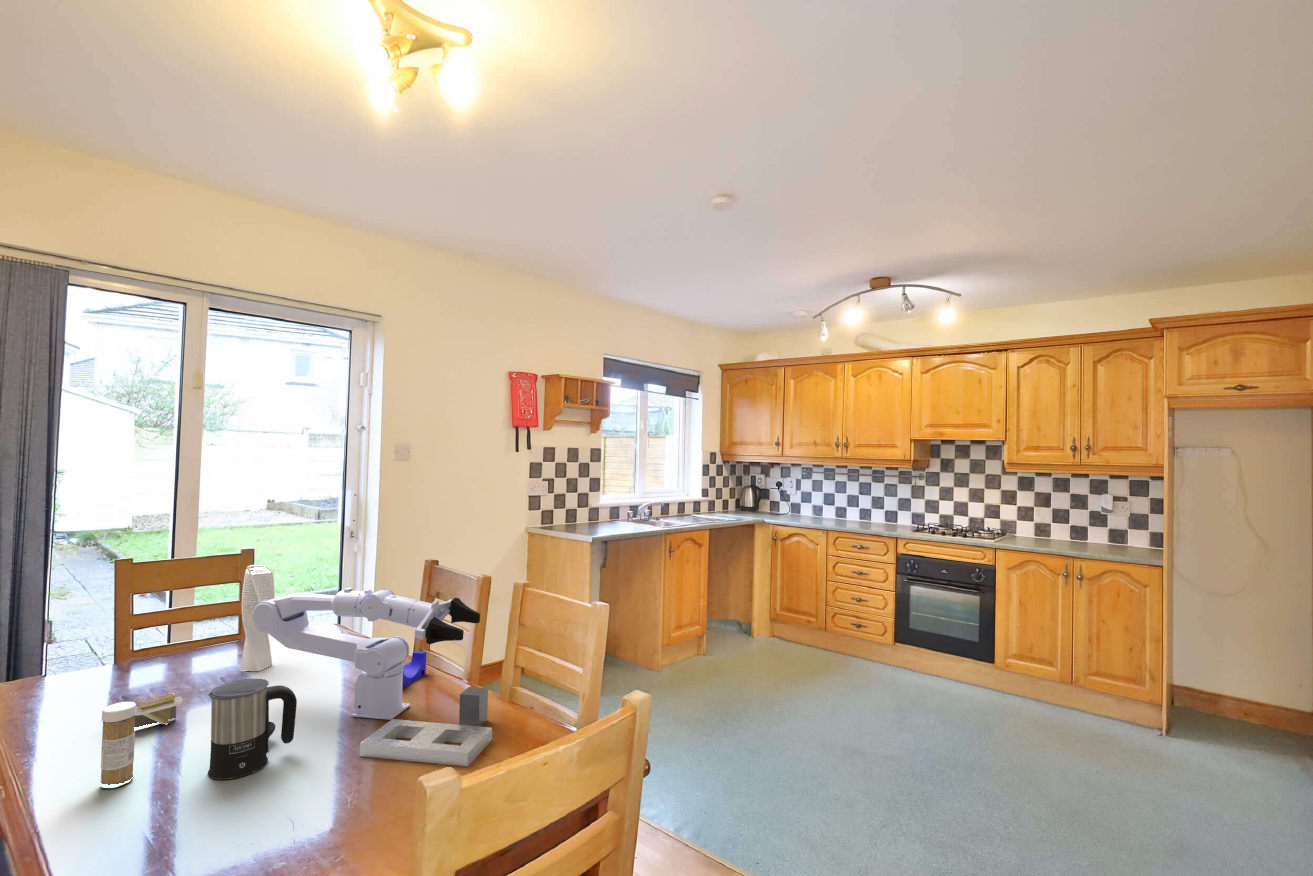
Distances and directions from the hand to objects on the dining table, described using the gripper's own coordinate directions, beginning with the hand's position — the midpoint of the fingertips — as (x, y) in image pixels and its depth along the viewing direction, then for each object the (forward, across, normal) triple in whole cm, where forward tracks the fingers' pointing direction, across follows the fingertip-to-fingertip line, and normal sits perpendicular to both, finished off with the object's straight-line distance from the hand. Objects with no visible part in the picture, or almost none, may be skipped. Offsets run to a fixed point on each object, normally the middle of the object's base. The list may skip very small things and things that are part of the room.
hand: (471, 626), depth 138 cm
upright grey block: (+5, -6, +19) cm, 20 cm away
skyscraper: (-65, +11, +34) cm, 75 cm away
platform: (-58, -23, +26) cm, 68 cm away
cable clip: (-23, +12, +28) cm, 38 cm away
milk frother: (-30, -29, +19) cm, 46 cm away
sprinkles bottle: (-44, -42, +19) cm, 63 cm away
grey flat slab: (+1, -18, +17) cm, 25 cm away
